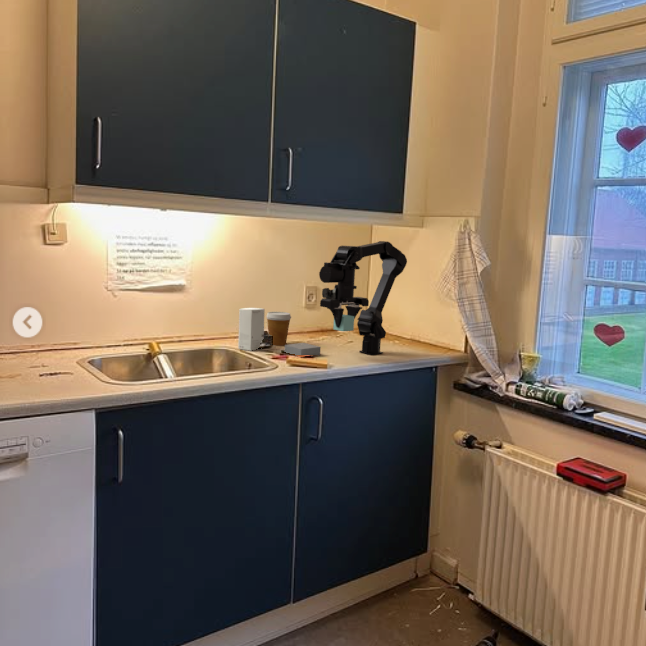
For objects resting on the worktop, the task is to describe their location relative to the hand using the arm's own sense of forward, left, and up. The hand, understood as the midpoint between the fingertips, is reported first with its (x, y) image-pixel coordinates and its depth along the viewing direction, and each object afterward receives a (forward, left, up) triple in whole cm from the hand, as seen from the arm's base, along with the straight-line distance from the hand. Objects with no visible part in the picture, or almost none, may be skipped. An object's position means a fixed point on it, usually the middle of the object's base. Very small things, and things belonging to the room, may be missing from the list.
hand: (343, 326), depth 219 cm
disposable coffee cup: (+5, -30, -11) cm, 32 cm away
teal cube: (0, 0, -1) cm, 1 cm away
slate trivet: (+9, -11, -11) cm, 18 cm away
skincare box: (+19, -28, -11) cm, 36 cm away
